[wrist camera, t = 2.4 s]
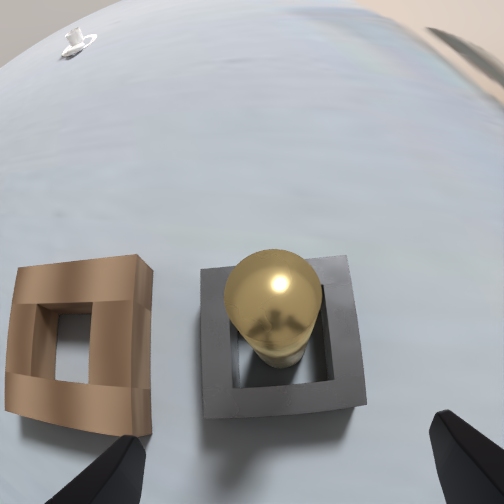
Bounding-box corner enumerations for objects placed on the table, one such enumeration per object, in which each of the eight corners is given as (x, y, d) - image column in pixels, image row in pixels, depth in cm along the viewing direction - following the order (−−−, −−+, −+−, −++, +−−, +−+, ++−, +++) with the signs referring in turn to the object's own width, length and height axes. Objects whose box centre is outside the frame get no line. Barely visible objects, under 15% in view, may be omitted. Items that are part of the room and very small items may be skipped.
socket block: (215, 415, 19) (203, 418, 16) (211, 285, 23) (200, 269, 20) (356, 403, 18) (367, 404, 15) (339, 272, 22) (346, 255, 19)
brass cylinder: (257, 370, 20) (225, 346, 10) (255, 322, 21) (222, 254, 11) (307, 365, 20) (327, 337, 10) (303, 318, 21) (315, 244, 11)
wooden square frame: (29, 412, 19) (4, 410, 17) (38, 280, 24) (18, 267, 22) (152, 433, 18) (132, 438, 16) (153, 270, 24) (137, 254, 21)
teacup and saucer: (82, 55, 44) (73, 39, 40) (53, 64, 45) (45, 49, 42) (104, 32, 48) (98, 17, 44) (76, 40, 49) (69, 26, 45)
